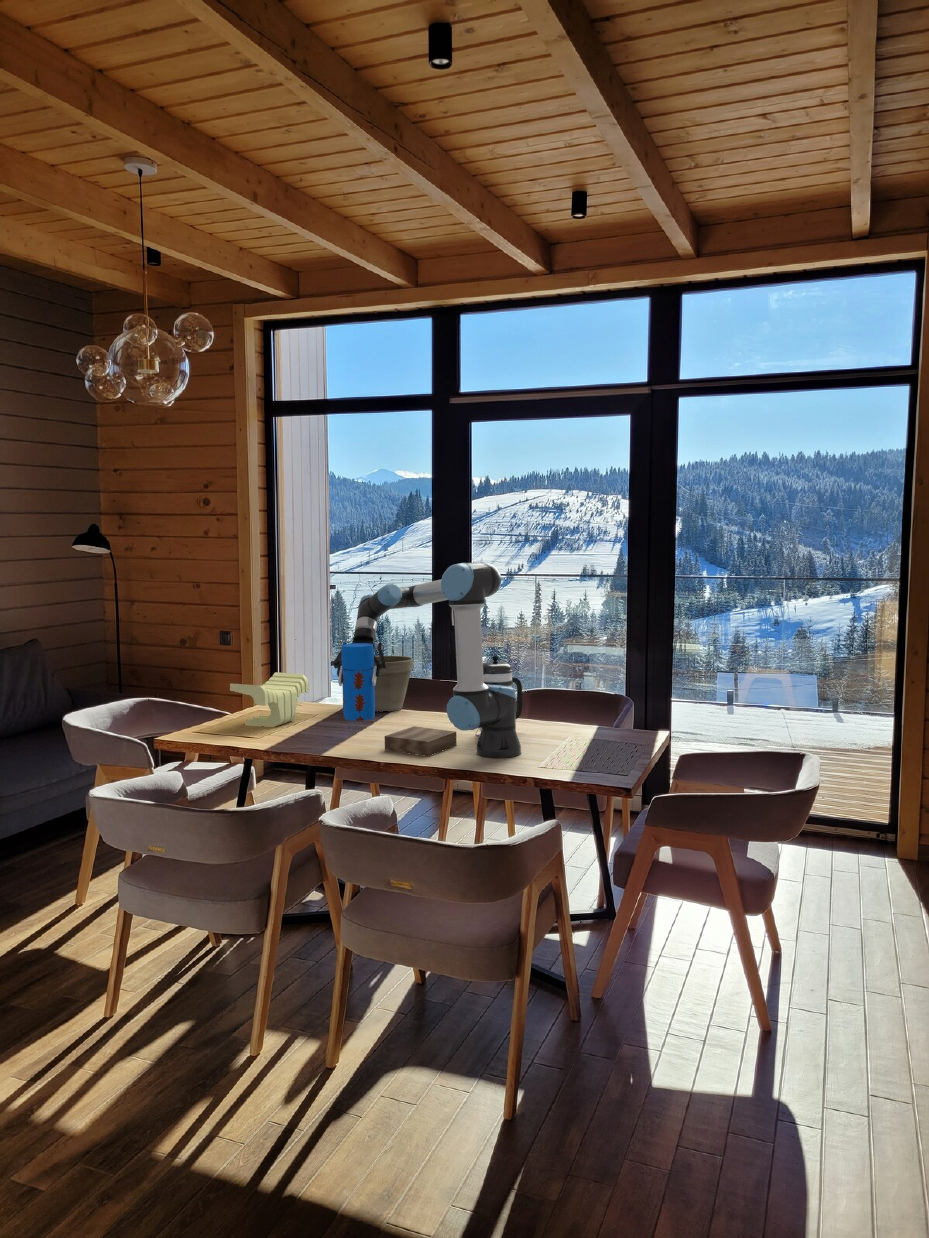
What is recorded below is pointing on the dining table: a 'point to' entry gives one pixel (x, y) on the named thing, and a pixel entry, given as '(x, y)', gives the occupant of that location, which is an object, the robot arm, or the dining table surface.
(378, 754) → the dining table surface
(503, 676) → the coffee press
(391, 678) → the plant pot
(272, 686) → the pale green ribbed part
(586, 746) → the dining table surface
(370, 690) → the thermos
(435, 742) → the block
